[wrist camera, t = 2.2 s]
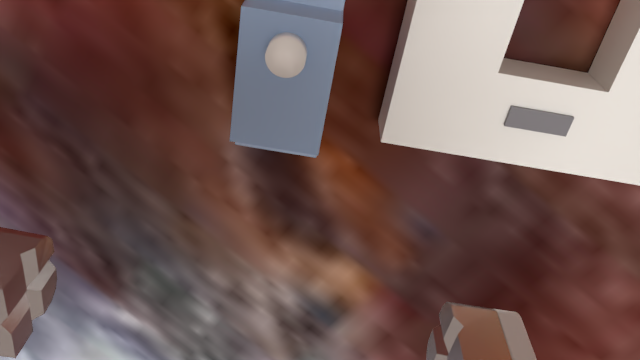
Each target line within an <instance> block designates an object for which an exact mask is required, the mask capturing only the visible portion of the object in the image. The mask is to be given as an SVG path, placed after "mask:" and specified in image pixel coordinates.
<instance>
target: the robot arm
mask: <svg viewBox="0 0 640 360" xmlns="http://www.w3.org/2000/svg"><path fill="white" fill-rule="evenodd" d="M53 253H54V247H53V241H52V239H51V238H50V237H48V236H44V235H39V234H34V233H28V232H23V231H18V230H13V229H7V228H2V227H0V356H5V357H13V358H16V356H17V355H18V353H19V352H20V350H21V349H22V347H23V346H24V344H25V343H26V341H27V340H28V338H29V336H30V335H31V333H32V332H33V327H32V320H33V319H35V318H37V317H39V316H41V315H43V314H44V313H45V311H46V310H47V308H48V306H49V305H50V303H51V301H52V298H53V295H54V292H55V289H56V282H57V272H56V268H55V267H54V265H53V264H52V263H51V262H50V261H49V259H50V257H51V256H52V254H53ZM439 317H440V322H441V325H439V326H437V327H436V328H434V329H433V330H432V333H431V335H430V338H429V341H428V347H427V360H537V359H536V356H535V354H534V351H533V348H532V346H531V343H530V340H529V338H528V335H527V332H526V330H525V327H524V324H523V322H522V319H521V316H520V315H519V314H518V313H517V312H512V311H505V310H498V309H490V308H484V307H477V306H471V305H464V304H458V303H452V302H446V303H445V304H444V305H443V307H442V309H441V311H440V314H439Z"/></svg>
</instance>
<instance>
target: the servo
mask: <svg viewBox="0 0 640 360" xmlns="http://www.w3.org/2000/svg"><path fill="white" fill-rule="evenodd" d="M344 4H345V0H245V1H244V2H243V4H242V5H241V15H240V26H239V38H238V50H237V61H236V73H235V85H234V96H233V108H232V120H231V131H230V141H232V142H235V145H241V146H247V147H253V148H259V149H265V150H271V151H278V152H284V153H290V154H296V155H302V156H308V157H314V158H316V155H317V156H318V154H319V149H320V143H321V138H322V133H323V127H324V122H325V117H326V111H327V106H328V101H329V95H330V90H331V85H332V79H333V74H334V69H335V63H336V58H337V53H338V47H339V42H340V37H341V31H342V26H343V9H344Z"/></svg>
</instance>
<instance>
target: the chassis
mask: <svg viewBox="0 0 640 360" xmlns="http://www.w3.org/2000/svg"><path fill="white" fill-rule="evenodd" d="M523 2H524V0H408V1H407V5H406V9H405V13H404V17H403V21H402V25H401V29H400V33H399V38H398V42H397V46H396V50H395V54H394V58H393V62H392V66H391V70H390V74H389V78H388V82H387V86H386V90H385V95H384V99H383V103H382V107H381V111H380V115H379V119H378V122H379V131H380V140H381V142H384V143H389V144H395V145H401V146H407V147H413V148H419V149H425V150H431V151H437V152H443V153H449V154H455V155H461V156H467V157H473V158H479V159H485V160H491V161H497V162H503V163H509V164H515V165H521V166H527V167H533V168H539V169H545V170H551V171H557V172H563V173H569V174H575V175H581V176H587V177H593V178H599V179H605V180H611V181H617V182H623V183H629V184H635V185H640V0H620V3H619V5H618V7H617V9H616V12H615V14H614V16H613V18H612V20H611V23H610V25H609V27H608V29H607V31H606V34H605V36H604V38H603V40H602V43H601V45H600V47H599V49H598V51H597V54H596V56H595V58H594V60H593V63H592V65H591V67H590V69H589V71H588V73H586V72H581V71H575V70H569V69H564V68H558V67H553V66H547V65H541V64H536V63H530V62H524V61H519V60H513V59H507V58H504V55H505V52H506V49H507V47H508V44H509V41H510V38H511V36H512V33H513V30H514V27H515V24H516V22H517V19H518V16H519V13H520V10H521V8H522V5H523Z"/></svg>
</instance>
